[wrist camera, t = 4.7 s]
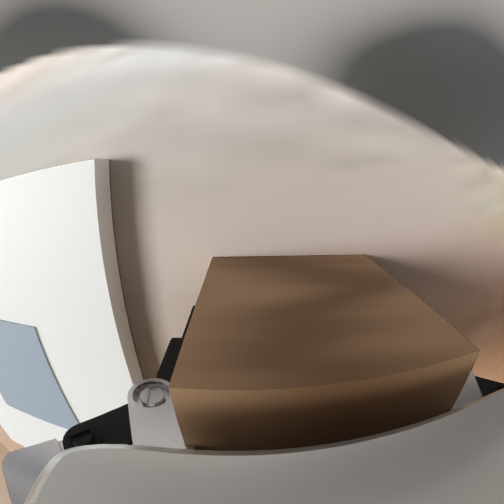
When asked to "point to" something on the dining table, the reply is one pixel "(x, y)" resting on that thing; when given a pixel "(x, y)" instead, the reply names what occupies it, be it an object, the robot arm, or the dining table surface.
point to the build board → (60, 303)
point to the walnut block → (311, 355)
